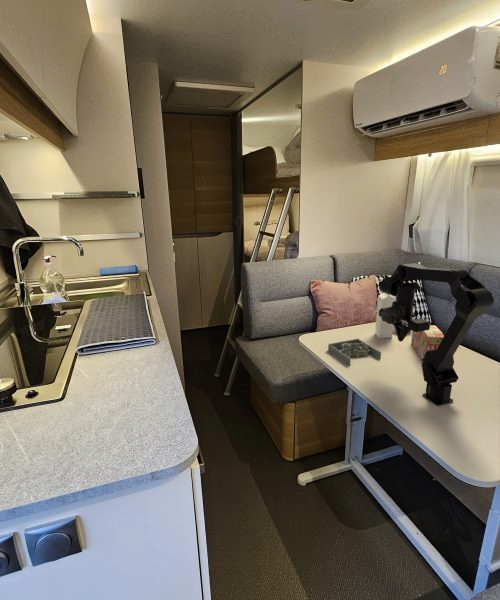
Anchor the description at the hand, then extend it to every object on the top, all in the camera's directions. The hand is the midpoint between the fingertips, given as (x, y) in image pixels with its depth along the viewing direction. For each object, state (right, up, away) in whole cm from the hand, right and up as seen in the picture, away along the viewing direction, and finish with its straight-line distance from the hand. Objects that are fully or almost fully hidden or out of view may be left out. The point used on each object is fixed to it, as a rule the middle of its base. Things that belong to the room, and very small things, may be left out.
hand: (400, 341), depth 124 cm
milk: (+9, -2, +38) cm, 39 cm away
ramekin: (+19, 0, +45) cm, 49 cm away
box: (-11, -8, +20) cm, 24 cm away
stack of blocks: (+18, -8, +19) cm, 28 cm away
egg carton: (-10, -8, +22) cm, 25 cm away
